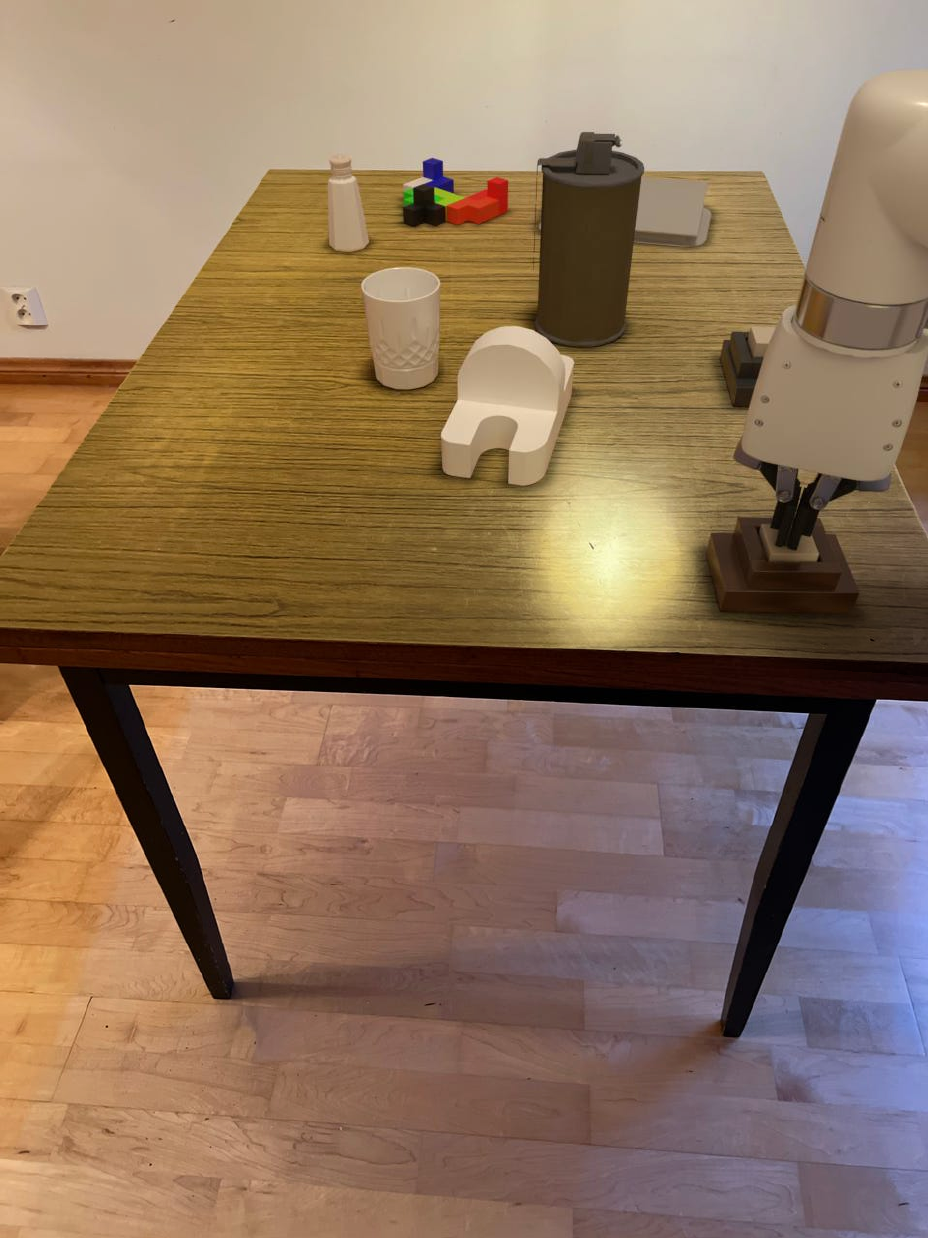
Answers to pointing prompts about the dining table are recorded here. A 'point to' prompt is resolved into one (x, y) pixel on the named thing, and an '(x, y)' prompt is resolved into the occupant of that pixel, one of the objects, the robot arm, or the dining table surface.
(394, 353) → the white cup
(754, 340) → the far key
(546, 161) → the canister
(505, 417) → the slotted bracket
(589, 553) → the dining table surface
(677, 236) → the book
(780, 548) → the near key
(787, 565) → the near block
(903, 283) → the robot arm
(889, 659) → the dining table surface
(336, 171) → the salt shaker
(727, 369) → the far block
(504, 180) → the building blocks
